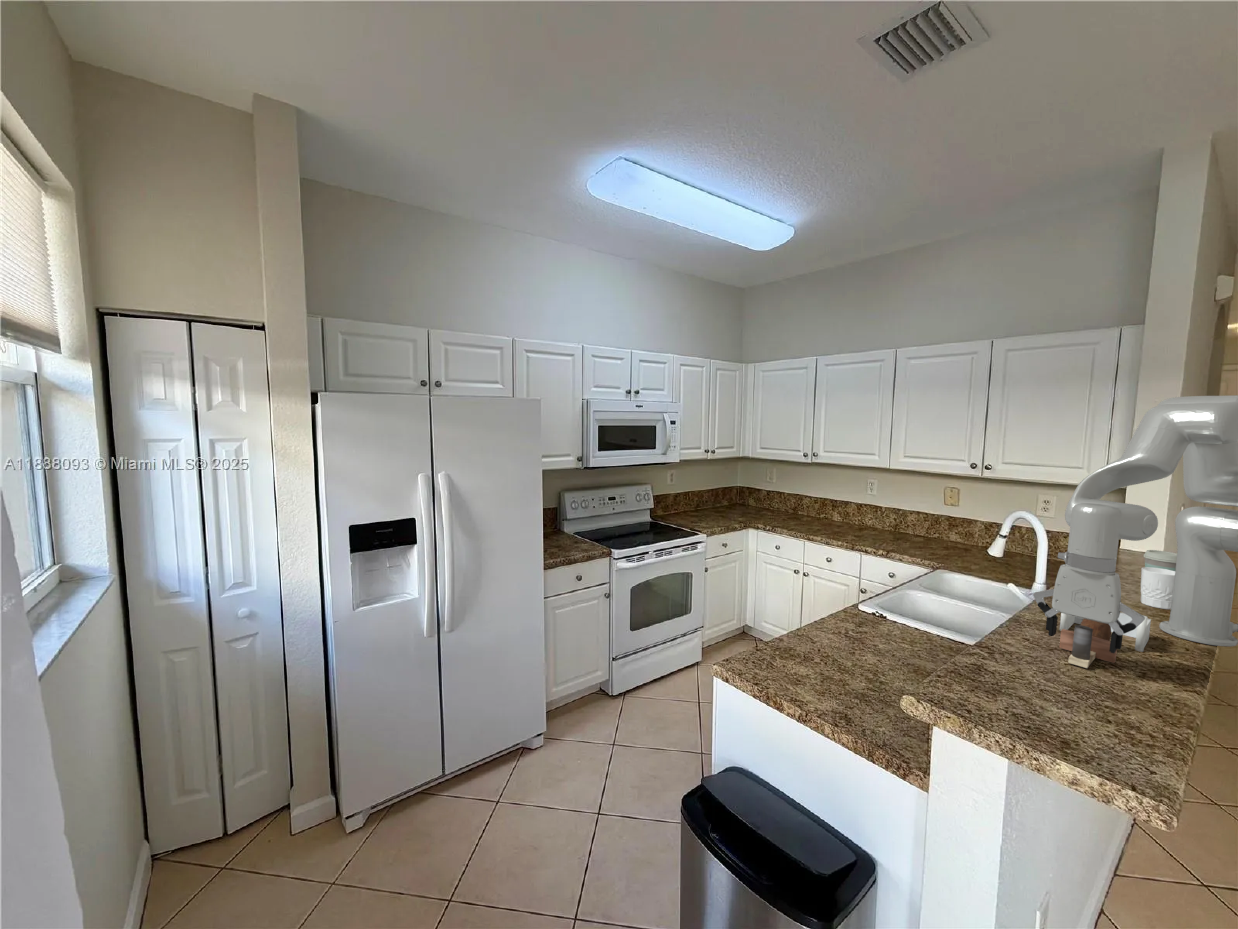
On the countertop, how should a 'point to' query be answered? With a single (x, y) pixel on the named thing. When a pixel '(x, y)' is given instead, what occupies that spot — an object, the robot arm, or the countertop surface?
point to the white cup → (1157, 587)
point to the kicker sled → (1085, 646)
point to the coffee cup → (1160, 559)
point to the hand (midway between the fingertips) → (1081, 642)
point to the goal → (1139, 632)
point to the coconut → (1098, 629)
